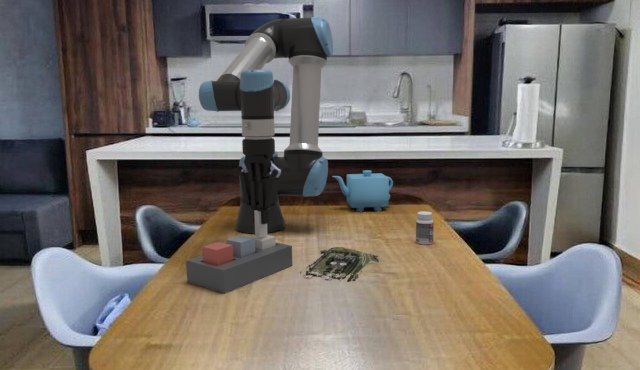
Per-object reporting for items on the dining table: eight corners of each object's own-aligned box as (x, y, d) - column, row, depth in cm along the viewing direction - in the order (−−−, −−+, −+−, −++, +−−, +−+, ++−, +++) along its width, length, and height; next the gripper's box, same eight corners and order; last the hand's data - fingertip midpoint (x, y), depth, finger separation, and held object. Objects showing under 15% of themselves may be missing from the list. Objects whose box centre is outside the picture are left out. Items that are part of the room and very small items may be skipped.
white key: (248, 254, 128) (248, 237, 128) (261, 249, 132) (261, 233, 131) (262, 257, 125) (262, 240, 125) (275, 252, 129) (275, 236, 128)
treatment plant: (373, 286, 116) (373, 270, 115) (292, 282, 119) (292, 266, 118) (381, 253, 140) (381, 239, 139) (313, 250, 143) (313, 237, 143)
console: (187, 281, 119) (186, 260, 118) (256, 257, 136) (255, 238, 135) (224, 293, 111) (223, 270, 111) (292, 265, 129) (291, 245, 128)
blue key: (226, 256, 123) (226, 239, 122) (241, 251, 126) (240, 235, 125) (241, 259, 120) (240, 242, 119) (255, 254, 123) (254, 238, 123)
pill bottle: (433, 245, 144) (434, 215, 143) (415, 244, 145) (416, 214, 144) (433, 240, 149) (433, 211, 148) (416, 239, 150) (416, 210, 149)
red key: (203, 264, 117) (202, 246, 116) (219, 259, 121) (218, 241, 120) (217, 268, 114) (216, 250, 114) (233, 262, 118) (232, 245, 117)
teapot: (389, 204, 198) (389, 167, 195) (396, 211, 187) (396, 172, 184) (330, 206, 196) (329, 169, 193) (333, 213, 185) (333, 173, 182)
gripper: (226, 137, 125) (230, 235, 129) (268, 139, 117) (271, 244, 121) (249, 135, 131) (252, 229, 135) (290, 137, 123) (292, 237, 127)
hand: (261, 236), depth 128 cm, fingers closed
